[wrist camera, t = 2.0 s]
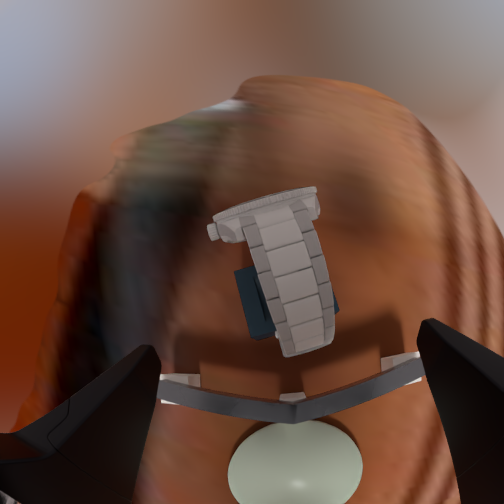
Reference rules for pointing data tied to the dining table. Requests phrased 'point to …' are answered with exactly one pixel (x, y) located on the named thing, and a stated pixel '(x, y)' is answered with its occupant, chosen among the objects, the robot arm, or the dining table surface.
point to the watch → (282, 269)
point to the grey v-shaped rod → (195, 381)
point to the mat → (295, 465)
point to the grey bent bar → (292, 409)
